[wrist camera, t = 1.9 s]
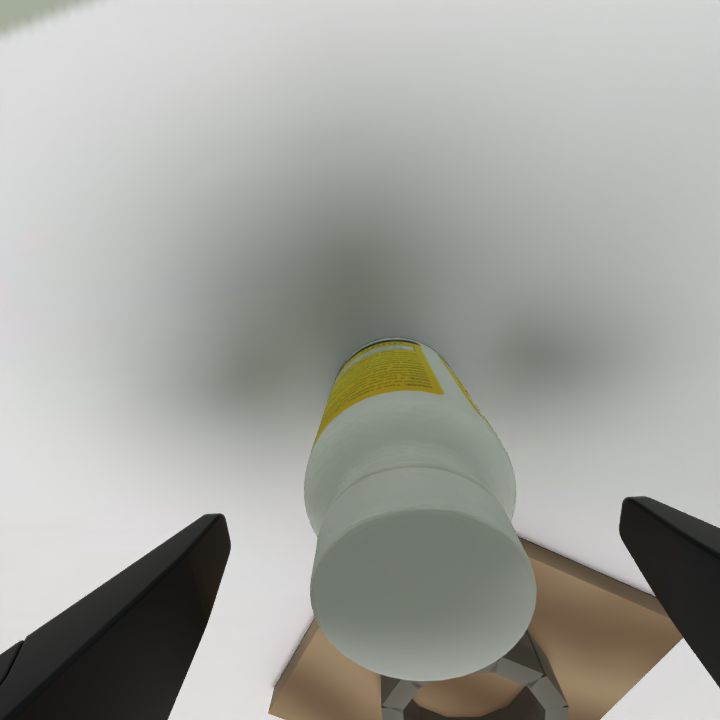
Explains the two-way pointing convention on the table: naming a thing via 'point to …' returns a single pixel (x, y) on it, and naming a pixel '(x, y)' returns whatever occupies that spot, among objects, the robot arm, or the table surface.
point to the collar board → (503, 661)
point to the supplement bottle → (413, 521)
